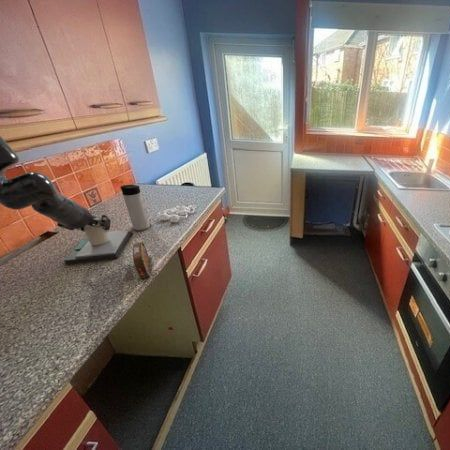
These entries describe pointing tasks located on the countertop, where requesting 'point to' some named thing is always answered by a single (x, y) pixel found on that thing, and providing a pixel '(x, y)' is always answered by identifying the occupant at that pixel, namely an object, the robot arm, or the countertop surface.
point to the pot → (96, 235)
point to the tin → (141, 259)
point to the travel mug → (135, 207)
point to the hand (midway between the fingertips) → (97, 228)
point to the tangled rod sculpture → (174, 217)
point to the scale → (99, 248)
